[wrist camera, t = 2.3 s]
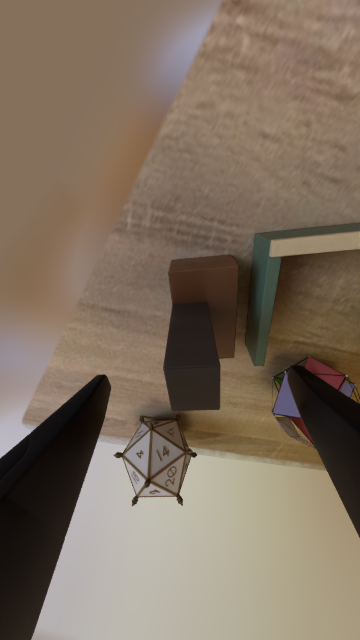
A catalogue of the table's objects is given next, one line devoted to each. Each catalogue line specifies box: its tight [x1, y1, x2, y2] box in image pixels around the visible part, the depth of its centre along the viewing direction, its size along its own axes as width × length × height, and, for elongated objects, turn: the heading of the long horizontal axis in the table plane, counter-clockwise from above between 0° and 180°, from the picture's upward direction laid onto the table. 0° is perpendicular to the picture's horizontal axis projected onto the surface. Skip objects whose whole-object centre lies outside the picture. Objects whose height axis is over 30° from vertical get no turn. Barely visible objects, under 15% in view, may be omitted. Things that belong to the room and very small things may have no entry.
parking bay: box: [245, 223, 360, 366], centre depth 14 cm, size 11×10×3 cm
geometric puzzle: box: [271, 356, 360, 449], centre depth 17 cm, size 7×7×8 cm
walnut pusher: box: [163, 255, 239, 411], centre depth 13 cm, size 8×4×9 cm, turn 6°
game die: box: [114, 414, 197, 506], centre depth 22 cm, size 9×8×10 cm
